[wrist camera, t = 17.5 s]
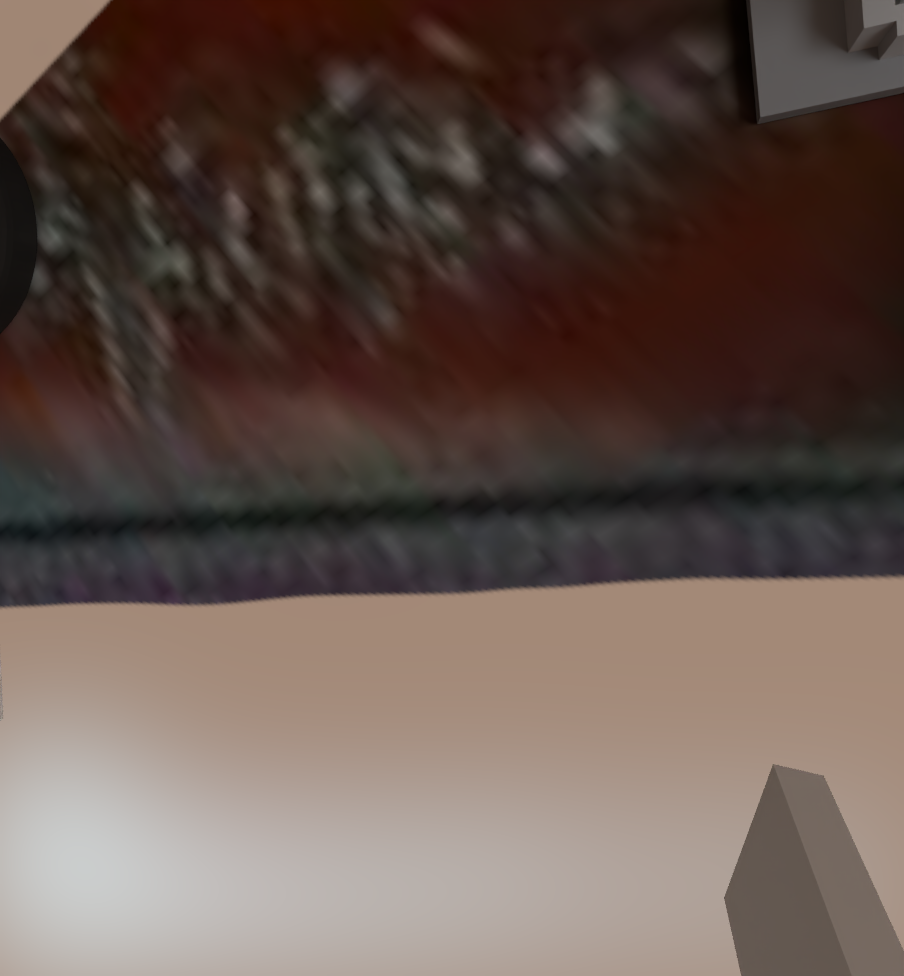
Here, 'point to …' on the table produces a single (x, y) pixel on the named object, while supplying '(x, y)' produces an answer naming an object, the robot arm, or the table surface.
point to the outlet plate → (823, 54)
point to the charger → (899, 2)
